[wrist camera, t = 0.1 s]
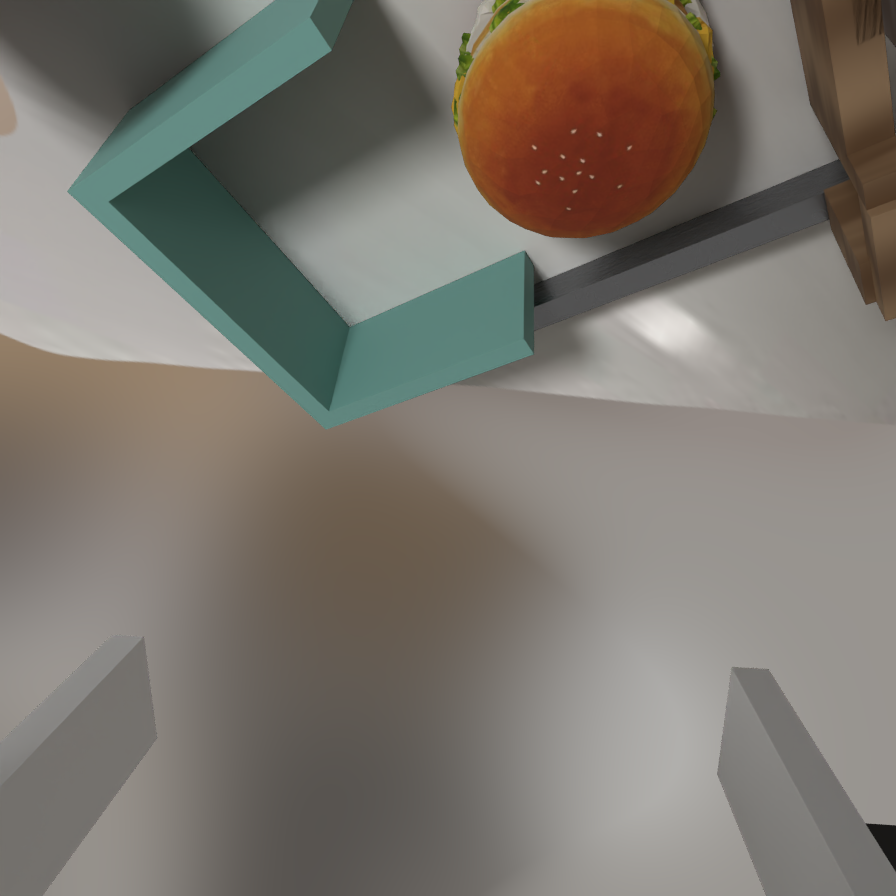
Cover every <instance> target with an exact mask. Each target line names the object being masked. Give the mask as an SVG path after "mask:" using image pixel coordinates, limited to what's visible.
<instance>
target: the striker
mask: <svg viewBox="0 0 896 896" xmlns="http://www.w3.org/2000/svg"><path fill="white" fill-rule="evenodd" d="M790 2H791V7H792V12H793V17H794V22H795V27H796V33H797V38H798V43H799V48H800V53H801V59H802V64H803V69H804V74H805V79H806V84H807V90H808V95H809V100H810V105H811V106H812V108H813V110H814V112H815V114H816V116H817V118H818V120H819V122H820V123H821V125H822V127H823V129H824V131H825V133H826V135H827V137H828V138H829V140H830V142H831V144H832V146H833V148H834V150H835V152H836V154H837V155H838V157H839V159H840V161H841V163H842V165H843V167H844V169H845V171H846V172H847V174H848V176H849V178H850V180H847V181H845V182H842V183H840V184H837V185H835V186H832V187H830V188H827V189H825V190H824V195H825V200H826V205H827V210H828V215H829V220H830V225H831V230H832V232H833V234H834V236H835V239H836V241H837V243H838V245H839V247H840V249H841V252H842V254H843V256H844V258H845V260H846V262H847V265H848V267H849V269H850V271H851V273H852V276H853V278H854V280H855V282H856V284H857V286H858V289H859V291H860V293H861V295H862V297H863V299H864V302H865V304H866V305H867V304H870V303H873V302H877V304H878V306H879V308H880V310H881V312H882V314H883V316H884V319H885V321H888V320H891V319H894V318H896V136H895V129H894V119H893V110H892V100H891V91H890V82H889V72H888V63H887V53H886V44H885V34H886V36H887V37H888V38H889V39H890V41H891V42H892V43H893V45H894V46H895V47H896V0H790ZM884 33H885V34H884Z"/></svg>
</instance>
